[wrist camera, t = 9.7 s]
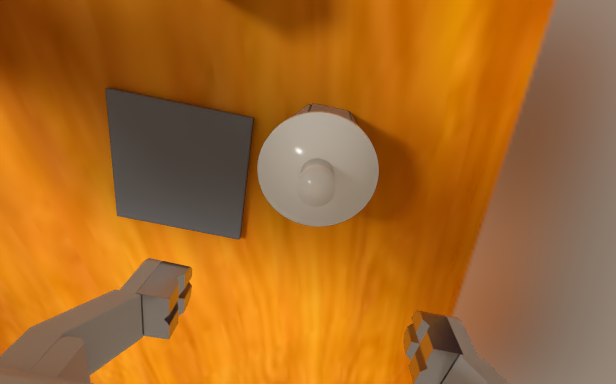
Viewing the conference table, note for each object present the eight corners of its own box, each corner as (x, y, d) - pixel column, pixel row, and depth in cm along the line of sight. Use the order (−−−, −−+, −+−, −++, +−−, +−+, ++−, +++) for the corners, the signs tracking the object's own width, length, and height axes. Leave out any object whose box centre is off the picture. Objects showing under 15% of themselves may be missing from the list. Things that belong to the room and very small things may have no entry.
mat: (120, 213, 36) (117, 215, 35) (109, 87, 29) (105, 88, 29) (240, 236, 36) (239, 239, 35) (253, 117, 30) (252, 119, 29)
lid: (254, 209, 28) (243, 233, 25) (266, 99, 24) (255, 109, 21) (360, 229, 29) (365, 256, 25) (392, 123, 24) (402, 137, 21)
